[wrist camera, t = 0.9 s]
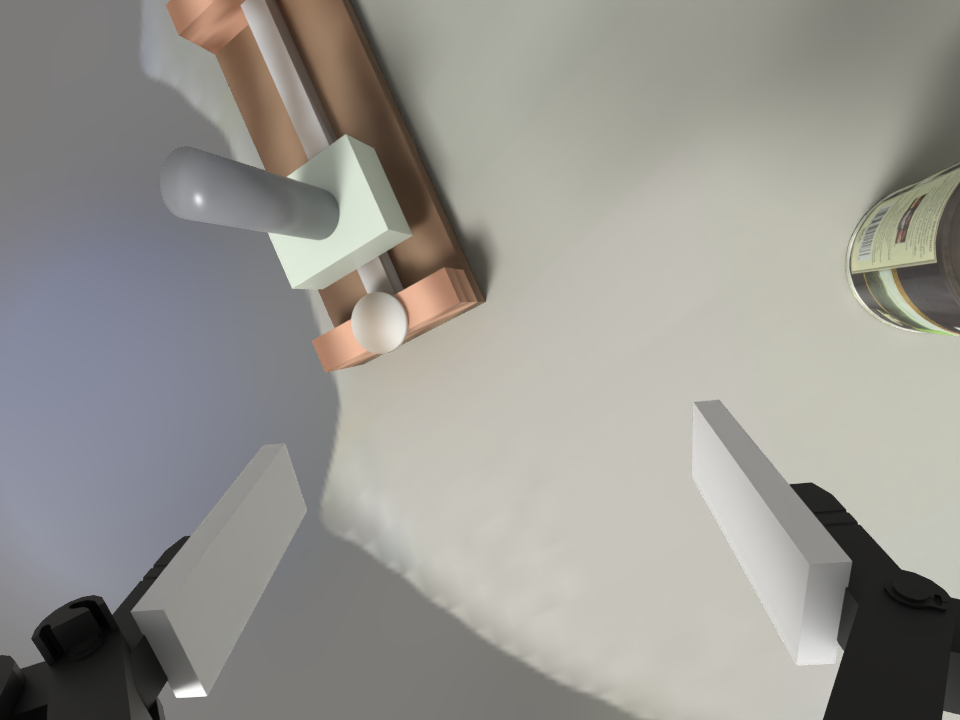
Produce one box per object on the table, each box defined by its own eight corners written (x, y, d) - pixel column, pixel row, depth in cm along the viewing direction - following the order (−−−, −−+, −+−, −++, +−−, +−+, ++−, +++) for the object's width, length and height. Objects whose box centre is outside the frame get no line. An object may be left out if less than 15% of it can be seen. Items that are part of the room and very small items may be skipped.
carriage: (373, 148, 43) (217, 68, 28) (412, 235, 43) (275, 201, 28) (287, 208, 47) (107, 166, 32) (322, 289, 46) (157, 285, 31)
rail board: (318, -69, 47) (266, -124, 41) (490, 312, 46) (462, 314, 40) (215, 27, 52) (155, -9, 46) (367, 373, 51) (325, 384, 45)
